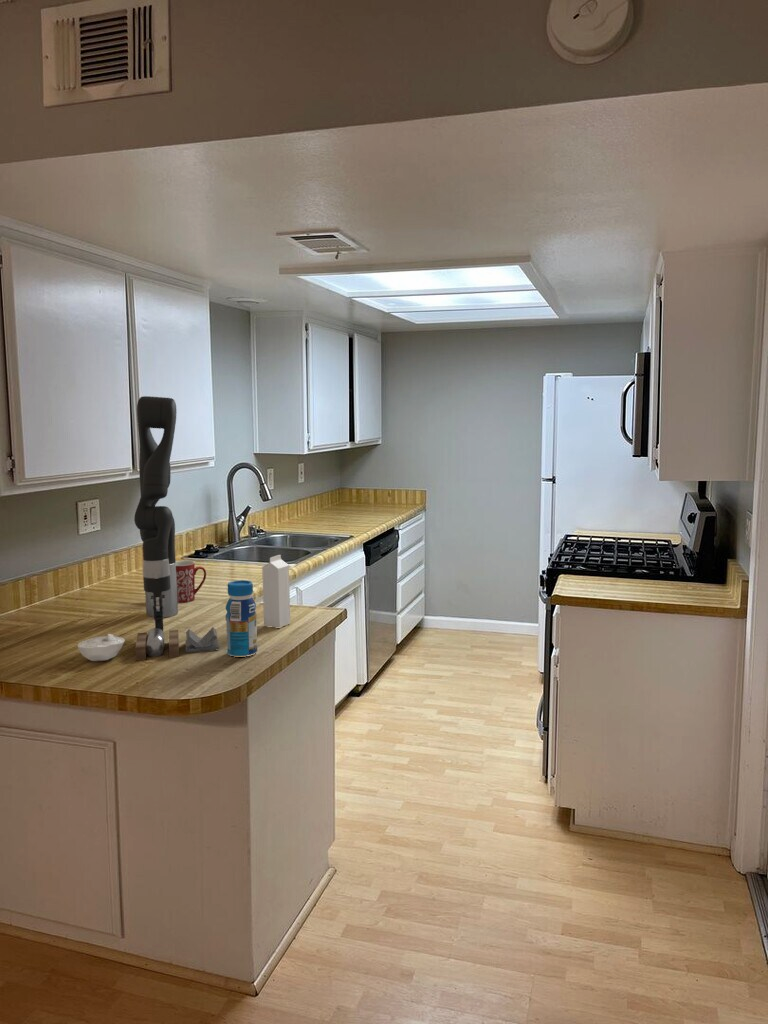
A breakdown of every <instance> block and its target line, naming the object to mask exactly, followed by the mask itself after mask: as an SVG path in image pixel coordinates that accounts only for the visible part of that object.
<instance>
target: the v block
mask: <svg viewBox="0 0 768 1024" xmlns="http://www.w3.org/2000/svg"><path fill="white" fill-rule="evenodd" d="M185 634H186V636H185V638H186V639H185V640H184V641H185V653H186V654H189V653H190V652H192V653H199V652H198V651H203V652H208V651H207V650H214V651H217V650H216V649H219V650H220V644H219V639H218V633H217V630H216V628H215V627H211V628H210V630H209V631H207V633H205V635H204V636H203V637H202V638H201V637H199V635H197V634H196V633H195V632H194V631H192V630H191V629H188V630H187V631H186V632H185ZM190 654H191V653H190Z"/></svg>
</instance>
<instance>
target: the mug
mask: <svg viewBox="0 0 768 1024" xmlns="http://www.w3.org/2000/svg"><path fill="white" fill-rule="evenodd" d="M195 564H196V562H195V561H194V560H178V561H177V560H176V581H177V603H180V604H183V603H190V602H193V601H194V600H196V599H195V596H196V594H197V593H198V591H200V589H201V588H202V586H203V585H204V583H205V581H206V578H207V571H206V568H205V567H204V566H196V567H195ZM198 570H202V571H203V578H202V580H201V582H200V583H199V585H198V586H197V587H196V588H195V576H196V574H197V571H198Z"/></svg>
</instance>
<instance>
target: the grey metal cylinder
mask: <svg viewBox="0 0 768 1024" xmlns="http://www.w3.org/2000/svg"><path fill="white" fill-rule="evenodd" d="M165 637H166V635H165V633H164V630H163V631H162V630H161V629H159V628H151V629H150V630H149V631H148V632H147V642H146V655H148V656H149V657H159V656H161V655H162V654H163V652H164V650H165Z"/></svg>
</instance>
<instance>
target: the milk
mask: <svg viewBox="0 0 768 1024" xmlns="http://www.w3.org/2000/svg"><path fill="white" fill-rule="evenodd" d="M281 556H282V555H281V554H277V555H274V556H271V557H269V562H268V563H267V564H265V565H263V566H262V567H261V569H262V570H261V573H262V600H263V601H262V605H263V606H262V607H263V627H264V626H272V627H281V626H284V625H286V624H288V623H290V624H291V597H290V596H291V594H290V565H289V564H288V563H287V562H285V561H284V560H283V559H282V557H281Z"/></svg>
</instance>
